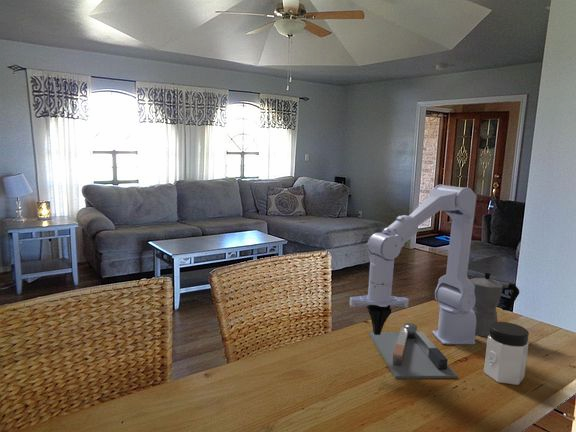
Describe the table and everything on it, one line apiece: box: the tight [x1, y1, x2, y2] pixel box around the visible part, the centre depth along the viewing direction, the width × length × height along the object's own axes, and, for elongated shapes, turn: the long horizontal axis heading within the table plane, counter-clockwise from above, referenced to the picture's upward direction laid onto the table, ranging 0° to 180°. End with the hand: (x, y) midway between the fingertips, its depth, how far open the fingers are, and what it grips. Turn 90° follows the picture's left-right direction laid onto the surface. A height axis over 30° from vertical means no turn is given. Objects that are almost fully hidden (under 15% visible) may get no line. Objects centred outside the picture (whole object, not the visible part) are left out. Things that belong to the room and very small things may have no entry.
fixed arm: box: [414, 330, 448, 369], centre depth 111 cm, size 16×2×2 cm, turn 4°
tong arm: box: [392, 322, 418, 365], centre depth 114 cm, size 20×4×3 cm, turn 159°
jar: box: [483, 321, 530, 386], centre depth 103 cm, size 9×8×12 cm
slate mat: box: [368, 331, 458, 379], centre depth 113 cm, size 24×15×1 cm, turn 4°
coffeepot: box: [468, 272, 520, 338], centre depth 127 cm, size 15×9×18 cm, turn 70°
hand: (376, 333), depth 109 cm, fingers closed
